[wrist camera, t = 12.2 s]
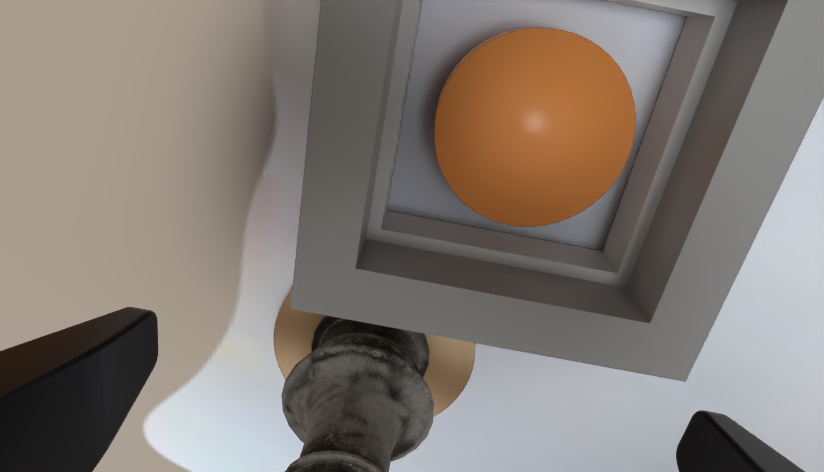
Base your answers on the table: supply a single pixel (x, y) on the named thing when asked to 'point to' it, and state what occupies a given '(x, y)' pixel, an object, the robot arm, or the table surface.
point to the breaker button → (534, 126)
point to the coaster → (442, 374)
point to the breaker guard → (544, 260)
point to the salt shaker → (358, 397)
